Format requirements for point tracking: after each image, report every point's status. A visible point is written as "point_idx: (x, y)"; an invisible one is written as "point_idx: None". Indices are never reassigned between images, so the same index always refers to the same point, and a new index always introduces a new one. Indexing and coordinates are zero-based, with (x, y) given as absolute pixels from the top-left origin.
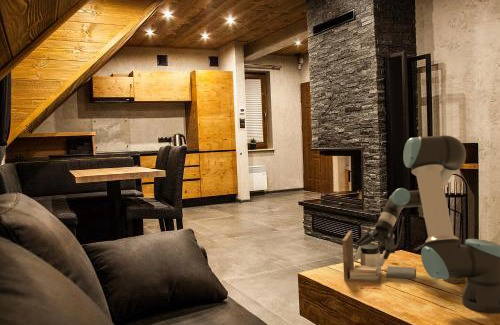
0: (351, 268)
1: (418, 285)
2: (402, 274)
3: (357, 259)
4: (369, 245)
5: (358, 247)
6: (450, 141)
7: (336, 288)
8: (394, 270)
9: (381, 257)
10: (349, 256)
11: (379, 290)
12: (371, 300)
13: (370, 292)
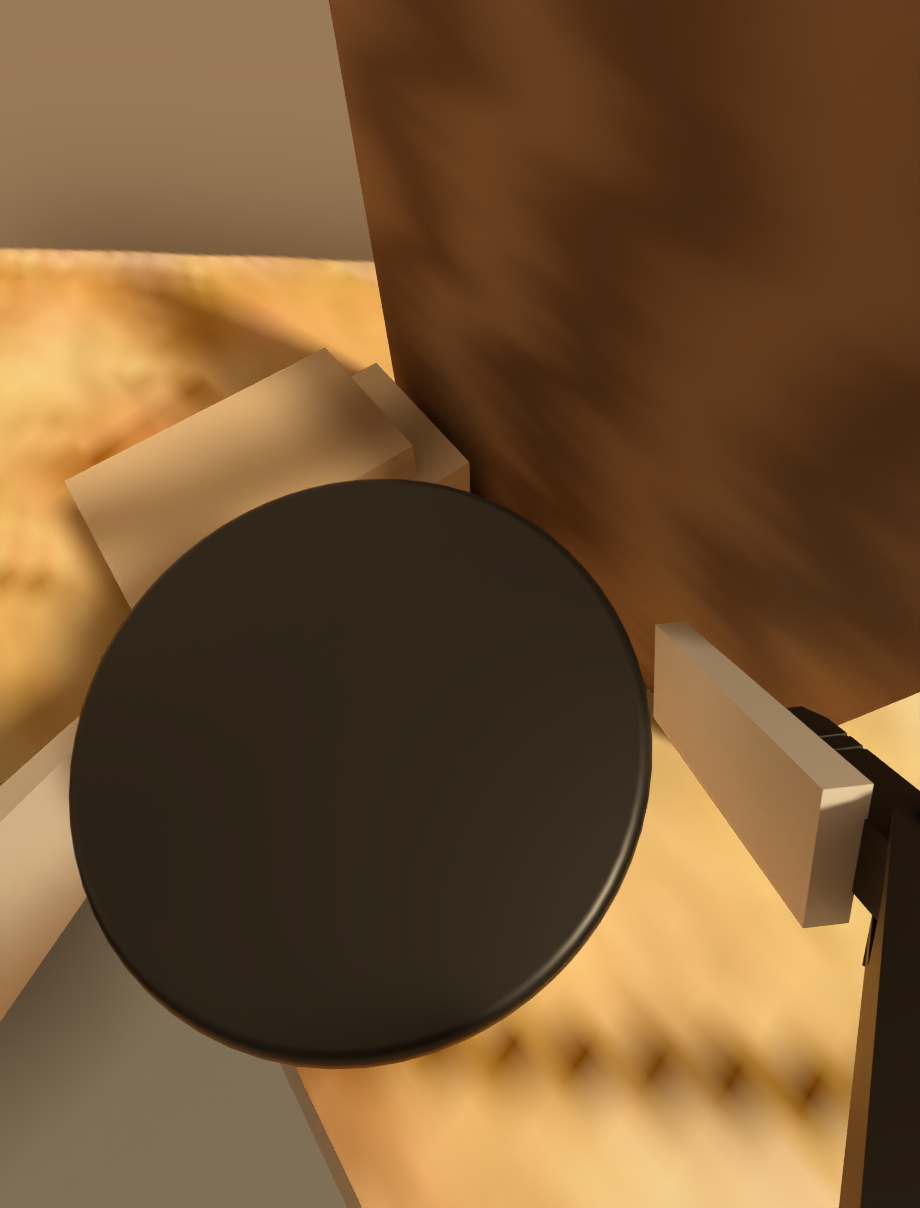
0: (447, 440)
1: None
2: None
3: (657, 703)
4: (471, 816)
5: (873, 787)
6: None
7: (344, 274)
8: (148, 1103)
9: (64, 745)
10: (525, 358)
11: (36, 446)
12: (4, 293)
13: (81, 374)
